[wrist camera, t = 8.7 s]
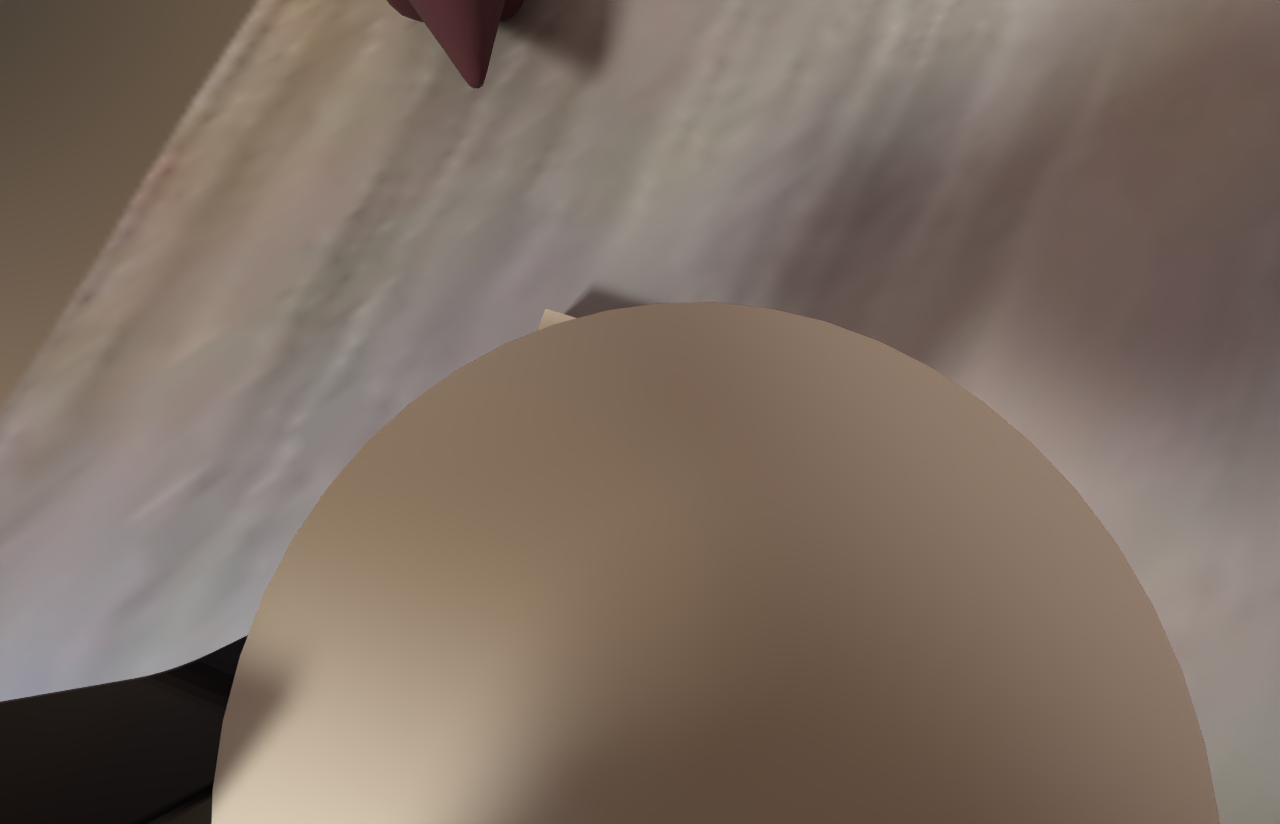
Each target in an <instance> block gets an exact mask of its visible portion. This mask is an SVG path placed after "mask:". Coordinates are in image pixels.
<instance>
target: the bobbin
mask: <svg viewBox="0 0 1280 824" xmlns="http://www.w3.org/2000/svg"><path fill="white" fill-rule="evenodd" d="M211 824H1219V815H1218V810H1217V805H1216V800H1215V794H1214V789H1213V784H1212V779H1211V773H1210V768H1209V763H1208V757H1207V752H1206V747H1205V742H1204V739H1203V736H1202V732H1201V729H1200V726H1199V723H1198V720H1197V717H1196V713H1195V710H1194V707H1193V704H1192V701H1191V697H1190V694H1189V691H1188V688H1187V685H1186V682H1185V678H1184V675H1183V672H1182V669H1181V667H1180V665H1179V663H1178V660H1177V658H1176V656H1175V654H1174V651H1173V649H1172V647H1171V645H1170V642H1169V640H1168V638H1167V636H1166V633H1165V631H1164V629H1163V627H1162V624H1161V622H1160V620H1159V618H1158V615H1157V613H1156V611H1155V609H1154V606H1153V604H1152V603H1151V601H1150V599H1149V598H1148V596H1147V594H1146V592H1145V591H1144V589H1143V587H1142V586H1141V584H1140V582H1139V580H1138V579H1137V577H1136V575H1135V574H1134V572H1133V570H1132V569H1131V567H1130V565H1129V563H1128V562H1127V560H1126V558H1125V557H1124V555H1123V553H1122V552H1121V550H1120V548H1119V546H1118V545H1117V543H1116V542H1115V541H1114V539H1113V538H1112V537H1111V535H1110V534H1109V533H1108V531H1107V530H1106V529H1105V527H1104V526H1103V525H1102V523H1101V522H1100V521H1099V519H1098V518H1097V517H1096V515H1095V514H1094V513H1093V511H1092V510H1091V509H1090V507H1089V506H1088V505H1087V503H1086V502H1085V501H1084V499H1083V498H1082V497H1081V495H1080V494H1079V493H1078V491H1077V490H1076V489H1075V488H1074V487H1073V486H1072V485H1071V484H1070V483H1069V481H1068V480H1067V479H1066V478H1065V477H1064V476H1063V475H1062V474H1061V473H1060V472H1059V471H1058V470H1057V469H1056V468H1055V467H1054V466H1053V465H1052V464H1051V462H1050V461H1049V460H1048V459H1047V458H1046V457H1045V456H1044V455H1043V454H1042V453H1041V452H1040V451H1039V450H1038V449H1037V448H1036V447H1035V446H1034V444H1033V443H1032V442H1031V441H1029V440H1028V439H1027V438H1026V437H1025V436H1023V435H1022V434H1021V433H1020V432H1019V431H1017V430H1016V429H1015V428H1014V427H1013V426H1012V425H1010V424H1009V423H1008V422H1007V421H1006V420H1004V419H1003V418H1002V417H1001V416H1000V415H998V414H997V413H996V412H995V411H994V410H993V409H991V408H990V407H989V406H988V405H987V404H985V403H984V402H983V401H982V400H980V399H979V398H977V397H975V396H974V395H972V394H971V393H969V392H968V391H966V390H965V389H963V388H962V387H960V386H959V385H957V384H956V383H954V382H953V381H951V380H950V379H948V378H947V377H945V376H944V375H942V374H941V373H939V372H938V371H936V370H935V369H933V368H932V367H930V366H928V365H926V364H924V363H922V362H920V361H918V360H916V359H914V358H912V357H910V356H908V355H906V354H904V353H902V352H900V351H898V350H896V349H894V348H892V347H890V346H888V345H886V344H884V343H882V342H880V341H878V340H875V339H872V338H870V337H867V336H864V335H861V334H859V333H856V332H853V331H850V330H848V329H845V328H842V327H839V326H837V325H834V324H831V323H828V322H826V321H822V320H818V319H813V318H809V317H805V316H800V315H796V314H792V313H788V312H783V311H779V310H775V309H771V308H762V307H753V306H744V305H735V304H725V303H716V302H703V303H657V304H650V305H642V306H635V307H628V308H621V309H613V310H606V311H602V312H599V313H595V314H591V315H587V316H583V317H580V318H576V319H572V320H568V321H565V322H561V323H557V324H553V325H551V326H548V327H546V328H543V329H541V330H538V331H536V332H534V333H531V334H529V335H526V336H524V337H521V338H519V339H516V340H514V341H511V342H509V343H506V344H504V345H502V346H500V347H498V348H496V349H494V350H492V351H491V352H489V353H487V354H485V355H483V356H482V357H480V358H478V359H476V360H474V361H473V362H471V363H469V364H467V365H465V366H463V367H462V368H460V369H458V370H456V371H454V372H453V373H452V374H450V375H449V376H447V377H446V378H445V379H443V380H442V381H440V382H439V383H438V384H436V385H435V386H433V387H432V388H431V389H429V390H428V391H427V392H425V393H424V394H422V395H421V396H420V397H418V398H417V399H415V400H414V401H413V402H411V403H410V404H408V405H407V406H406V407H405V408H404V409H403V410H402V411H401V412H400V413H399V414H398V415H396V416H395V417H394V418H393V419H392V420H391V421H390V422H389V423H388V424H387V425H386V426H385V427H383V428H382V429H381V430H380V431H379V432H378V433H377V434H376V435H375V436H374V437H373V438H371V439H370V440H369V441H368V442H367V443H366V444H365V445H364V446H363V448H362V449H361V450H360V451H359V452H358V453H357V454H356V456H355V457H354V458H353V459H352V460H351V461H350V463H349V464H348V465H347V466H346V467H345V468H344V470H343V471H342V472H341V473H340V474H339V475H338V477H337V478H336V479H335V480H334V481H333V482H332V484H331V485H330V486H329V487H328V488H327V490H326V491H325V492H324V494H323V495H322V497H321V498H320V500H319V501H318V503H317V504H316V506H315V507H314V509H313V510H312V512H311V513H310V515H309V516H308V518H307V519H306V520H305V522H304V523H303V525H302V526H301V528H300V529H299V531H298V532H297V534H296V535H295V537H294V538H293V540H292V542H291V544H290V546H289V547H288V549H287V551H286V553H285V555H284V557H283V559H282V561H281V563H280V565H279V567H278V569H277V570H276V572H275V574H274V576H273V578H272V580H271V582H270V584H269V586H268V588H267V590H266V591H265V593H264V595H263V598H262V601H261V603H260V606H259V608H258V611H257V613H256V616H255V619H254V621H253V624H252V626H251V629H250V632H249V634H248V637H247V639H246V642H245V644H244V647H243V650H242V652H241V655H240V658H239V662H238V666H237V669H236V673H235V677H234V681H233V685H232V688H231V692H230V696H229V700H228V704H227V707H226V711H225V715H224V719H223V723H222V730H221V737H220V744H219V751H218V757H217V764H216V771H215V778H214V785H213V794H212V823H211Z"/></svg>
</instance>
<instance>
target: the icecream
mask: <svg viewBox="0 0 1280 824" xmlns="http://www.w3.org/2000/svg"><path fill="white" fill-rule="evenodd" d="M387 1H388V2H389V4H390V5H391V6H392V7H393V8H394V9H396V10H397V11H398V12H399V13H400V14H401V15H403V16H406V17H408V18H411V19H414V20H417V21H421V22H424V23H425V24H426V26H427V27H428V28H429V30H430V31H431V32H432V34H433V35H434V37H435V38H436V39H437V41H438V42H439V44H440V45H441V46H442V48H443V49H444V51H445V52H446V53H447V55H448V56H449V58H450V59H451V61H452V62H453V64H454V65H455V67H456V68H457V69H458V71H459V72H460V74H461V75H462V77H463V78H464V79H465V81H466V82H467V83H468V84H469V86H471V87H473V88H480V87H481V86H483V83H484V80H485V77H486V73H487V69H488V65H489V61H490V57H491V53H492V49H493V44H494V41H495V37H496V33H497V29H498V25H499V22H500V21H502V20H505V19H507V18H510V17H512V16H514V14H515V13H516V12H517V10H518V9H519V8H520V7H521V4H522V2H523V0H387Z"/></svg>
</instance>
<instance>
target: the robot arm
mask: <svg viewBox="0 0 1280 824" xmlns="http://www.w3.org/2000/svg"><path fill="white" fill-rule="evenodd" d="M247 637H248V635H247V636H245V637H243V638H241V639H239V640H237V641H235V642H233V643H231V644H229V645H227V646H225V647H223V648H221V649H219V650H216V651H214V652H212V653H210V654H208V655H206V656H203V657H201V658H199V659H197V660H194V661H192V662H189V663H187V664H184V665H182V666H179V667H176V668H173V669H170V670H167V671H164V672H160V673H156V674H153V675H149V676H145V677H140V678H135V679H129V680H123V681H117V682H112V683H106V684H100V685H94V686H88V687H83V688H77V689H71V690H65V691H60V692H54V693H48V694H42V695H37V696H31V697H25V698H19V699H14V700H8V701H2V702H0V824H211V823H212V794H213V785H214V778H215V771H216V764H217V757H218V751H219V744H220V737H221V730H222V723H223V719H224V715H225V711H226V707H227V704H228V700H229V696H230V692H231V688H232V685H233V681H234V677H235V673H236V669H237V666H238V662H239V658H240V655H241V652H242V650H243V647H244V644H245V642H246V639H247Z"/></svg>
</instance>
